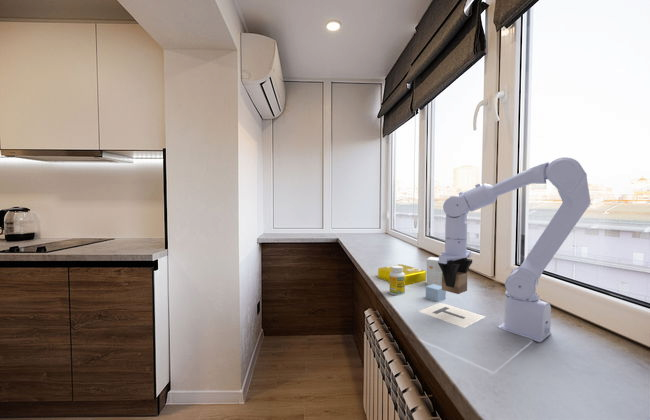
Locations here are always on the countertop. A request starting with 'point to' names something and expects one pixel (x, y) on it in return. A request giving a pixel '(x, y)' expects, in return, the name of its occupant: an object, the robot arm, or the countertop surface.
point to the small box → (434, 271)
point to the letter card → (452, 314)
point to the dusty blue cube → (435, 293)
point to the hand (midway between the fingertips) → (454, 284)
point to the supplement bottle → (397, 281)
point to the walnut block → (456, 283)
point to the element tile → (410, 273)
